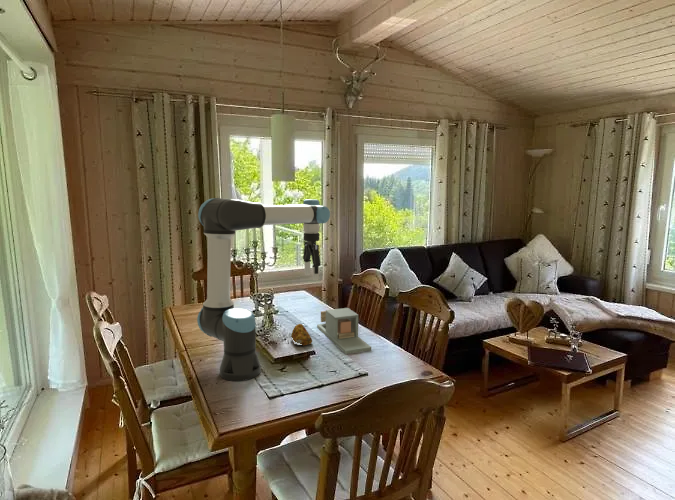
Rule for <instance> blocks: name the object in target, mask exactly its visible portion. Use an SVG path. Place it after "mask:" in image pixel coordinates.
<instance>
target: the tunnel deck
mask: <svg viewBox="0 0 675 500" xmlns="http://www.w3.org/2000/svg"><path fill="white" fill-rule="evenodd" d="M325 311H326V322H325V323H318V324H317V325H316V327H317V329H318V330H319V331H320V332H321V333H323V335H324V336H326V338H328V339H329V340H330V341H331V342H332V343H333V344H334V345H335V346H336V347H337V348H339V350H341V352H343V353H344V354H345V355H349V354H357V353H362V352H369V351H372V346H371V345H369V344H368V343H367V342H365V341H364V340H363V339H362V338H361V337H359V314H358V313H356V312H355V311H354V310H351V308H350V307H344V308H342V307H341V308H335V309H334V308H333V309H326V310H325ZM346 318H347V319H348V320H350V321H351V332H354V337H350V338H343V339H338V338H337V333H338V319H346Z"/></svg>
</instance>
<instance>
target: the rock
mask: <svg viewBox="0 0 675 500" xmlns="http://www.w3.org/2000/svg"><path fill="white" fill-rule="evenodd" d="M290 337H292V338H293V340H294V341H295V342H297V343H300V344H302V345H303V346H307V345H311V344H312V343H313V338H312V336H311V335H310V333H309V332H308V331H307V329H306V327H305V326H304V325H303V324H302V323H299V324H296V325H295V326H294V327H293V329H292V332H291V335H290ZM292 338H291V339H292ZM293 340H292V341H293Z"/></svg>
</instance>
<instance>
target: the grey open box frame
mask: <svg viewBox="0 0 675 500" xmlns="http://www.w3.org/2000/svg"><path fill="white" fill-rule="evenodd" d="M320 322H321V323H326V310H323V311H320ZM350 337H354V332H348V333H340V334H339V333H337V338H338V339H343V338H350Z"/></svg>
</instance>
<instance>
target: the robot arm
mask: <svg viewBox="0 0 675 500" xmlns="http://www.w3.org/2000/svg"><path fill="white" fill-rule="evenodd" d="M197 216H198V218H197V219H198V221H199V223H200V224H201V225H202V226H203V234H204V235H205V236H206V238H207V273H206V274H207V277H206V278H207V280H206V281H207V283H206V285H207V287H206V300H205V301H204V302H203V304H202V308H201V309H200V311H199V312H198V314H197V318H196V319H197V320H196V321H197V322H196V323H197V326H198V328H199V329H200V331H201V332H203V333H204V334H205V335H206V336H209V337H212V338H214V339H217V340H218V341H219V340H220V341H221V342H223V355H222V360H221V362H220V365H219V376H220V377H221V378H222V379H223V380H226V381H232V382H241V381H247V380H250V379H254V378H255V377H256V378H257V377H258V375H260V374H261V371H262V369H261V367H262V366H261V362H260V360H259V357H258V354H257V348H256V343H257V342H256V341H257V340H256V339H257V338H256V337H257V336H256V334H257V331H256V328H257V327H256V325H257V322H256V317H255V314H254V312H252V311H251V310H249V309H246V308H240V307H234V306H235V302H234V301H233V300H232V299H231V264H232V263H231V262H232V261H231V257H232V252H231V251H232V247H231V246H232V238H233V237H234V236H235V235H236V231H242V230H250V229H252V230H253V229H261V228H262V227H264V226H270V225H271V226H272V225H275V226H276V225H293V224H295V225H297V224H303V227H302V229H303V232H304V233H303V241H304V246H303V247H304V249H303V257H302V260H303V262H304V276H311V268H312V282H314V281H319V280H320V279H319V278H320V277H319V276H320V275H319V274H320V273H319V272H320V271H319V269H320V267H321V264H322V263H321V256H320V251H319V250H320V245H319V244H317V242H319V241H320V228H321V225H320V224H326V223H328V222H329V220H330V217H331V211H330V209H329V207H328V206H325V205H322V204H321V205H320V201H319V200H318V199H315V198H313V199H312V198H310V199H308V198H307V199H304V200H303V203H299V204H298V203H296V204H295V203H290V204H286V205H285V204H284V205H283V204H280V205H279V204H277V205H276V204H273V205H271V204H269V205H268V204H263V203H261V202H258V201H257V202H256V201H254V202H253V201H246V200H241V199H235V198H221V197H214V198H209V199H207V200H205V201H204V202H203V203H202V204H201V205H200V207H199V209H198V213H197ZM311 260H312V261H311ZM311 262H312V266H311Z"/></svg>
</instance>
